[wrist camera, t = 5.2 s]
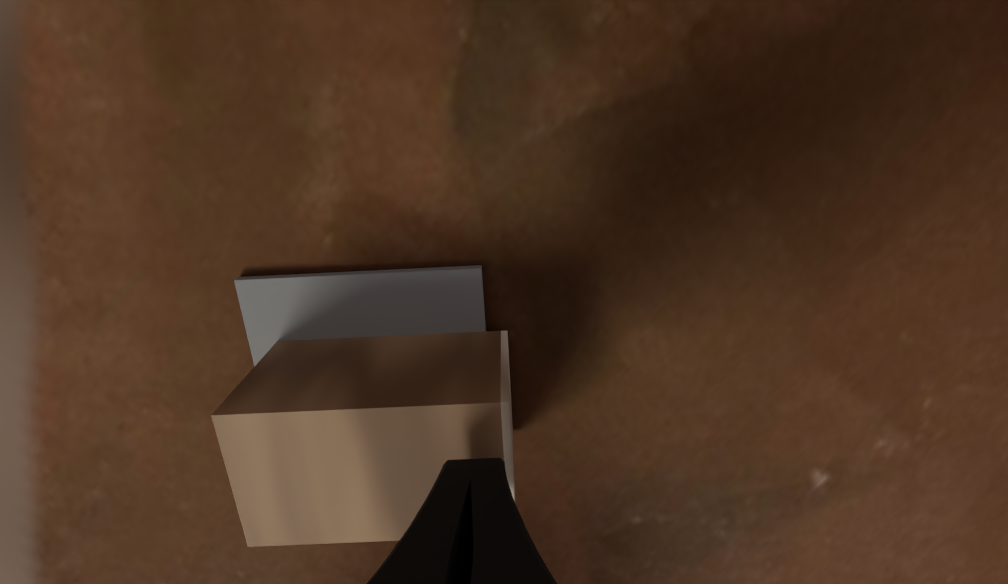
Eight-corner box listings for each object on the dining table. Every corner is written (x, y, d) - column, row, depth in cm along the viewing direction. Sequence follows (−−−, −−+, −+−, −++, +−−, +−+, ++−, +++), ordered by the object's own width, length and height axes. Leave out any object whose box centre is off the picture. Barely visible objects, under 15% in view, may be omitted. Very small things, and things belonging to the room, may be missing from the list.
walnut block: (509, 401, 13) (211, 415, 13) (516, 535, 14) (248, 546, 14) (507, 330, 16) (277, 341, 17) (513, 441, 18) (300, 450, 18)
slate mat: (481, 265, 16) (481, 268, 16) (496, 485, 19) (496, 491, 19) (238, 276, 16) (234, 280, 16) (289, 494, 19) (286, 500, 19)
